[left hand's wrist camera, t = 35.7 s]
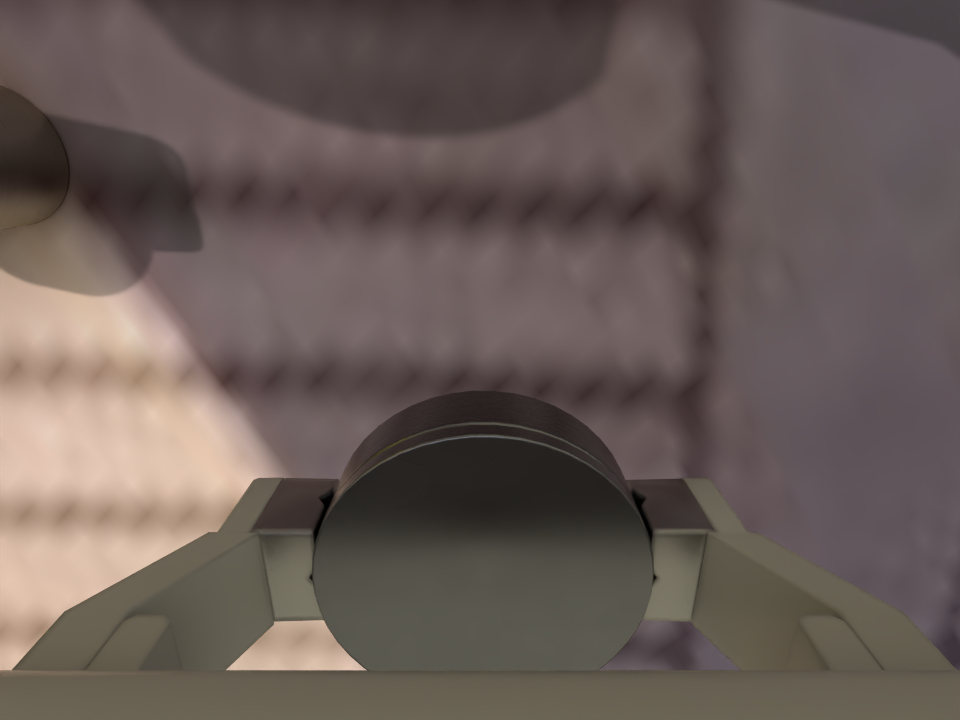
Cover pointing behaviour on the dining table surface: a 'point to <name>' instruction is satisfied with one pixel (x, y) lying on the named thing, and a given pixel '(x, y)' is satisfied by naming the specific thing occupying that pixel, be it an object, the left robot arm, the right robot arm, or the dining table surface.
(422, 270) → the dining table surface
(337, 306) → the dining table surface
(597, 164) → the dining table surface
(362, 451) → the lid
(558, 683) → the left robot arm
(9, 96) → the dark piece
